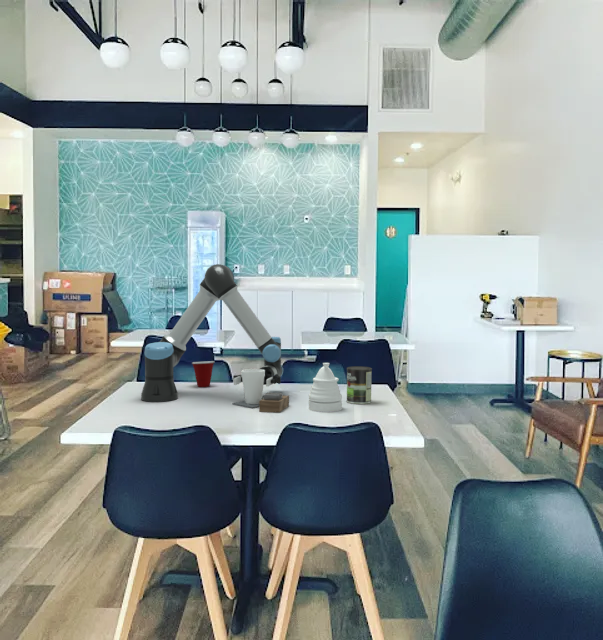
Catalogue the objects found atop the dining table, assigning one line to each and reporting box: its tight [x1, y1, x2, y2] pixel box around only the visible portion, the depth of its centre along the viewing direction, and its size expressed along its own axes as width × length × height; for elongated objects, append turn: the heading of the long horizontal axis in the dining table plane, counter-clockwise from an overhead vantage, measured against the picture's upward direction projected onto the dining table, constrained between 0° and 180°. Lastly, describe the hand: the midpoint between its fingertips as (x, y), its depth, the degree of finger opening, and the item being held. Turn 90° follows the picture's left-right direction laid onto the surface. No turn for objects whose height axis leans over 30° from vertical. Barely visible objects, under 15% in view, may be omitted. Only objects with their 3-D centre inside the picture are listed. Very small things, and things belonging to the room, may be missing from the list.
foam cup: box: [240, 368, 265, 404], centre depth 247 cm, size 10×9×13 cm
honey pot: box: [308, 362, 343, 413], centre depth 237 cm, size 13×13×18 cm
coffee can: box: [346, 365, 373, 405], centre depth 251 cm, size 10×10×14 cm
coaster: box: [232, 400, 259, 409], centre depth 247 cm, size 12×12×1 cm
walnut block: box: [258, 392, 290, 413], centre depth 238 cm, size 14×8×6 cm, turn 167°
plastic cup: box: [191, 360, 215, 388], centre depth 292 cm, size 11×11×12 cm
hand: (250, 382), depth 243 cm, fingers open, 13 cm apart
